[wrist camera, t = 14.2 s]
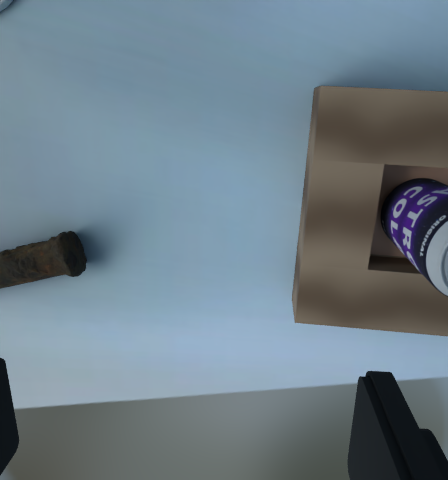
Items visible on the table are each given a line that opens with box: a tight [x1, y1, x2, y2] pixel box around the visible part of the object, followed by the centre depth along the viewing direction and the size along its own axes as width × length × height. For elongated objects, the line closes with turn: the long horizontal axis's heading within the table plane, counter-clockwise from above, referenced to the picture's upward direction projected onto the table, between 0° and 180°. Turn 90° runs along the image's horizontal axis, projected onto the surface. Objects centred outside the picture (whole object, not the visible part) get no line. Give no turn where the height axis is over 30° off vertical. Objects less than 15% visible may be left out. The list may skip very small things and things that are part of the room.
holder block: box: [292, 86, 448, 336], centre depth 33 cm, size 18×18×4 cm
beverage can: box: [380, 178, 448, 297], centre depth 29 cm, size 6×6×12 cm
